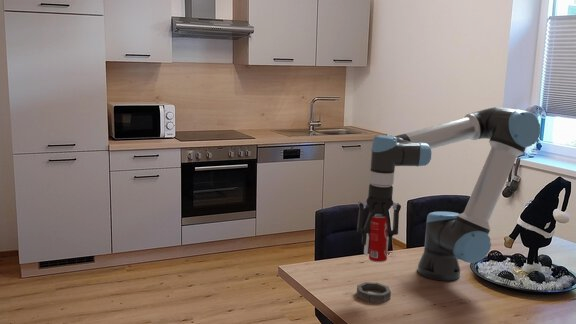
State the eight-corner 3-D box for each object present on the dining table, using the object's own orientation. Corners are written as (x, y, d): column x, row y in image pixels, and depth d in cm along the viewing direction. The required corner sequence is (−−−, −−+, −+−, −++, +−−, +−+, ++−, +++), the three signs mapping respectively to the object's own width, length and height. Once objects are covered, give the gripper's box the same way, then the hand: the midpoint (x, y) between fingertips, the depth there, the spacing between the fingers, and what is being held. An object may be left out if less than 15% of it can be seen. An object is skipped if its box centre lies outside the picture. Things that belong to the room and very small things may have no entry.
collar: (385, 289, 189) (386, 282, 189) (392, 303, 179) (392, 295, 179) (355, 289, 189) (355, 282, 189) (359, 302, 179) (360, 294, 178)
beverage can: (386, 264, 178) (390, 218, 175) (365, 261, 179) (369, 216, 177) (386, 258, 184) (390, 213, 181) (366, 255, 185) (370, 211, 182)
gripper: (407, 183, 181) (401, 251, 186) (350, 180, 181) (345, 249, 185) (413, 188, 174) (406, 259, 178) (353, 185, 174) (348, 257, 178)
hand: (375, 254), depth 182 cm, fingers closed on beverage can, 6 cm apart
